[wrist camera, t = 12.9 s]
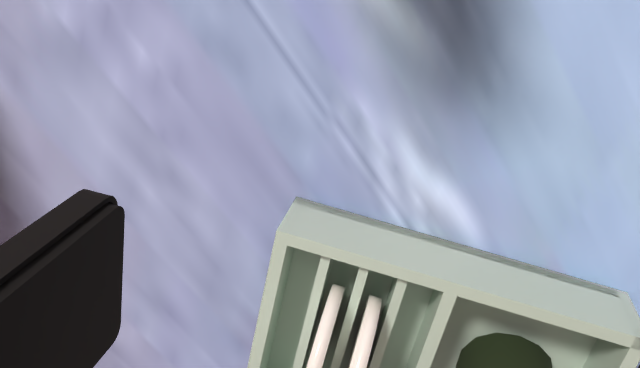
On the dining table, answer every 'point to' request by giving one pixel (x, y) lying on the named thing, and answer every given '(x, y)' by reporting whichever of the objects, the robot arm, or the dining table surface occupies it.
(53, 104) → the dining table surface
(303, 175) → the dining table surface
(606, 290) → the dish rack
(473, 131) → the dining table surface
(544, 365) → the character mug
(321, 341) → the racked plates
